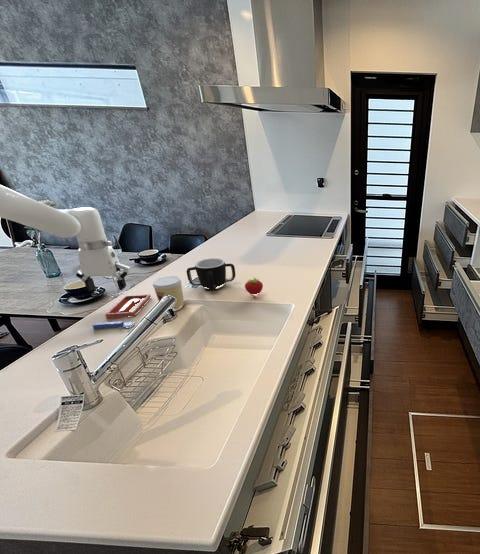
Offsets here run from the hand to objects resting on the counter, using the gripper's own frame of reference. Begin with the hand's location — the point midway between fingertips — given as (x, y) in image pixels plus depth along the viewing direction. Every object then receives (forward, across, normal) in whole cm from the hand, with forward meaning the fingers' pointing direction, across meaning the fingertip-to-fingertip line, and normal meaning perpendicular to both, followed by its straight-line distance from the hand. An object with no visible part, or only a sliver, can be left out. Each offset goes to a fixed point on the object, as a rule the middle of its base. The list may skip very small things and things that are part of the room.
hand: (107, 289), depth 111 cm
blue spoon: (+11, -4, +8) cm, 14 cm away
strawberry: (+11, -49, -9) cm, 51 cm away
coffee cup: (+11, -18, -4) cm, 22 cm away
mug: (+11, -30, -22) cm, 39 cm away
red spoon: (+11, -2, -6) cm, 12 cm away
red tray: (+11, -2, -6) cm, 13 cm away
